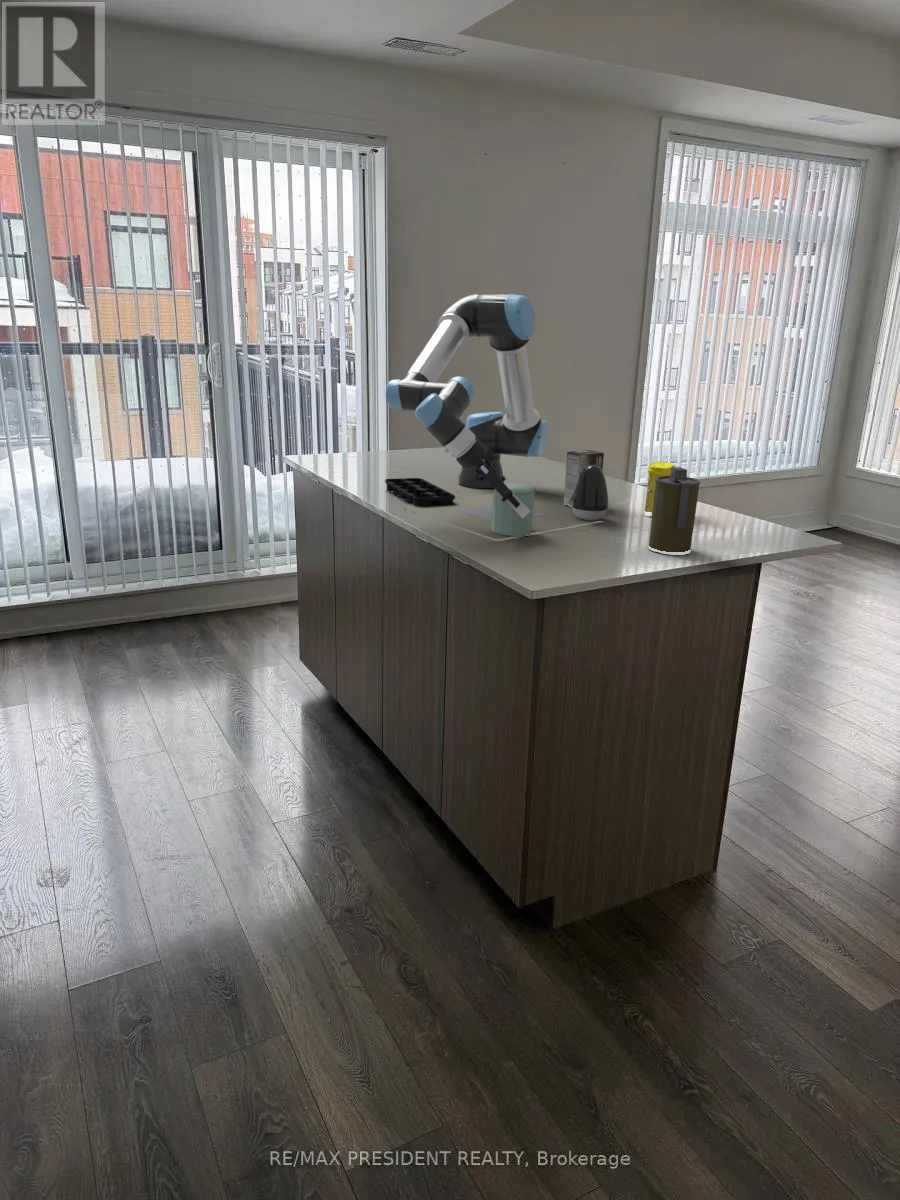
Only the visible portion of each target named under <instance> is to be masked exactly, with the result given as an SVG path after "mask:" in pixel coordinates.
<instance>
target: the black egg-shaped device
mask: <svg viewBox="0 0 900 1200" xmlns="http://www.w3.org/2000/svg"><path fill="white" fill-rule="evenodd" d="M603 471H604V470H603ZM603 471H602V470H601V468H600V467H598V466H597V465H589V466H587V467H586V468H585V469H584V470H583V471H582V473H581V475H580V476H579V479H578V481H577V484H576V487H575V490H574V493H573V497H572V502H571V506H572V508H571V509H572V512H573V514H574V516H575V518H577V519H579V520H583V519H584V520H585V521H599V519H600V520H602V518H604V517H605V514H607V511H608V509H609V505H610V504H609V501H610V500H609V492H608V491H609V489H608V485H607V479H606V477H605V474H604V472H603Z"/></svg>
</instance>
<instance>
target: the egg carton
mask: <svg viewBox="0 0 900 1200" xmlns="http://www.w3.org/2000/svg"><path fill="white" fill-rule="evenodd" d="M384 483H385V484H386V491H387V490H389V491H393V492H392V494H393V493H394V494H395V495H394V494H393V495H394V496H396V495H399V496H398V497H399V499H401V498H402V499H406V500H405V502H406V501H407V502H408V503H407V502H406V503H407V504H409V503H411V504H410V505H414V506H415V507H431V506H433V505H437V506H445V505H446V506H447V505H450V506H451V505H453V503H454V500H455V499H456V496H455V494H453V493H451V492H449V491H447V490H445V489H443V488H441V487H439V486H437V485H435V484H433V483H432V482H429V481H427V480H425V479H423V478H419V477H409V478H408V477H405V478H403V477H401V478H400V477H399V478H385V480H384ZM389 491H388V492H389ZM402 499H401V500H402Z"/></svg>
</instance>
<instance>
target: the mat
mask: <svg viewBox="0 0 900 1200" xmlns="http://www.w3.org/2000/svg"><path fill="white" fill-rule="evenodd" d="M455 511H456V512H459V513H463V514H467V515H470V516H473V517H476V518H480V519H482V520H485V521H489V522H492V515H493V503H491V504H487V505H485V504H484V505H479V506H471V507H466V508H458V509H455ZM543 516H545V514H543V513H540V512H536V511H533V518H537V517H543Z"/></svg>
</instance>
